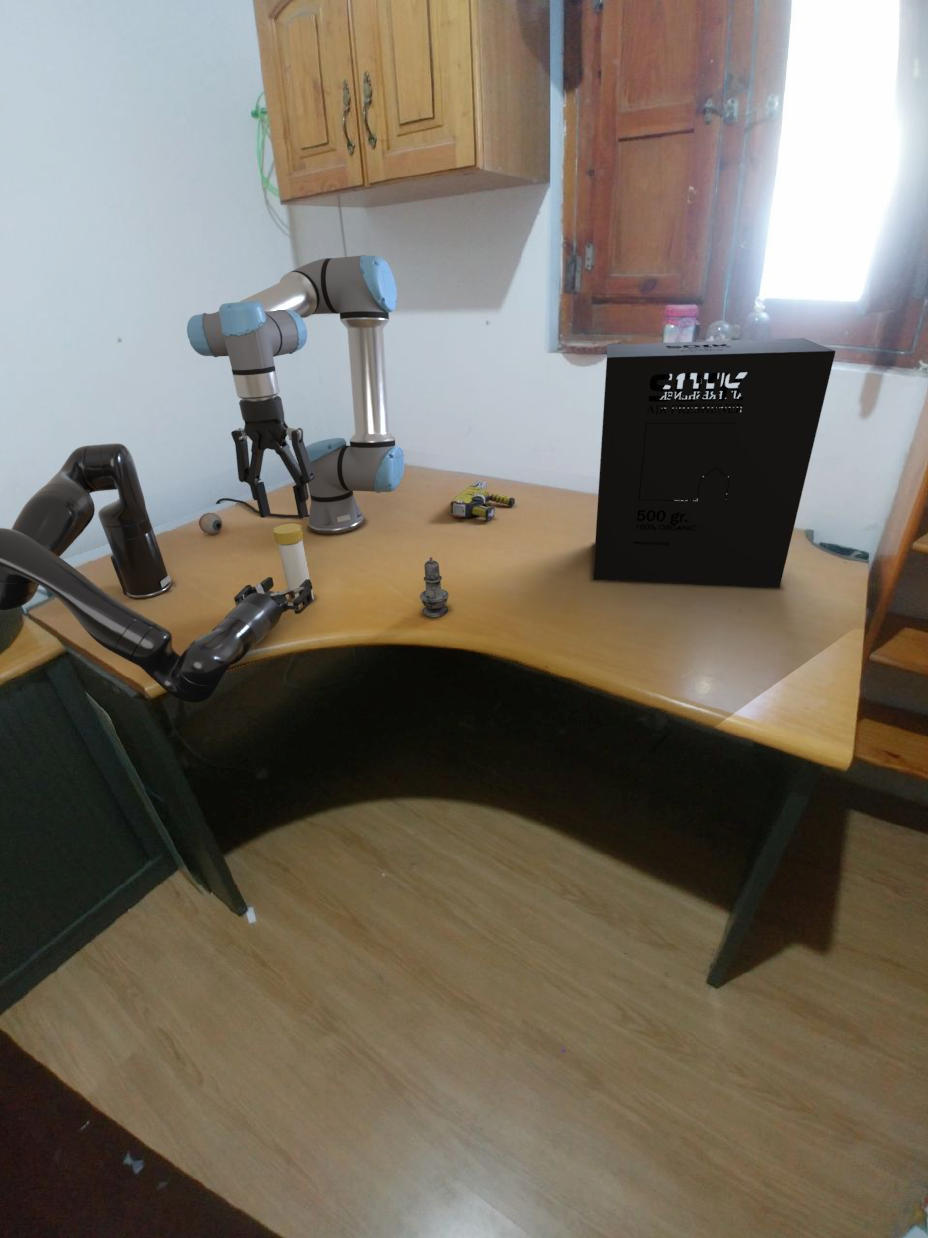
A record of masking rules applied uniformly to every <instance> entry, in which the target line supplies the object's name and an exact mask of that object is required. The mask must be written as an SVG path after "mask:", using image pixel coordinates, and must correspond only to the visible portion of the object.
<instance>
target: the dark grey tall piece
mask: <svg viewBox="0 0 928 1238" xmlns="http://www.w3.org/2000/svg"><path fill="white" fill-rule="evenodd" d="M423 567H424V577H423V581H424V582H425V590H424V591H422V592H421V593H420V594H419V599H420V600H421V603H422V605H423V606H424V608H422V614H423V615H424V616H426V617H429V618H438V617H442V616H444V615H446V614H448V612H449V607H448V606H447V605H446V603H447V602H448V598H449V595H450V594H449V592H448V591H447V590H445V589H443V588H442V582H441V581H442V579H443V577H442V575H441V574H440V564H439V562H438V561H437V560H434V559H433V557H432V556H430V557H429V559H428V561H426V562H425V563H424V566H423Z"/></svg>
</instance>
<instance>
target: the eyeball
mask: <svg viewBox="0 0 928 1238" xmlns="http://www.w3.org/2000/svg"><path fill="white" fill-rule="evenodd" d="M198 526H199V528H200V530H201V531H202V532H203V533H204V534H206V535H212V536H214V535H216V534H218V533H220V532H221V531H222V529H223V520H222V518H221V517H220V515H218V514H217V513H214V512H206V513H203V515H201V516H200V517H199V520H198Z"/></svg>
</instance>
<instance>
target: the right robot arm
mask: <svg viewBox="0 0 928 1238" xmlns="http://www.w3.org/2000/svg"><path fill="white" fill-rule="evenodd" d="M397 302H398V291H397V284H396V281H395V277H394V274H393V271H392V269H391V267H390V266H389V263H387V261H386V260H385V258H382V257H381V256H379V255H366V254H362V255H361V254H360V255H353V256H343V257H325V258H320V259H318V260H313V261H311V262H309V263H306V264H303V265H302V266H301V265H300V266H299V267H297V268H295V269H293V270H291V271H289V272H287V273H285V274H283V276H282V277H281V278H280V280H279V282H278V283H276V284H274V285H271V286H270V287H267V288H265V289H263V290H261V291H259V292H257V293H255V294H252V295H251V296H248V297H246V298H244V299H242V300H240V301H236V302H225V303H222V304H220V306H219V308H218V311H215V312H213V313H212V312H211V313H207V312H203V313H199V314H194V315H192V316H191V317H190V318H189V320H188V322H187V325H186V334H187V338H188V340H189V344H190V346H191V348H192V349H193V350H194V351H195V352H196V354H198V355H200V356H203V357H214V358H219V357H228V359H229V363H230V366H231V373H232V377H233V383H234V387H235V391H236V396H237V397H238V398H239V399H240V400H239V402H238V405H239V409H240V413H241V418H242V420H243V421H244V427H243V428H241V427H239V428H237V429H235V430H232V431H231V432H230V434H231V435H230V436H231V437H232V439H233V442H234V447H235V448H234V449H235V456H236V457H235V459H236V466H237V476H238V481H239V482H240V483H246V484H248V485H249V487H250V488H249V489H250V492H251V496H252V499H253V501H256V503H257V507H258V510H257V509H256V508H255V507H254V506H252V505H251V504H250V503H248V502H246V501H244V500H240V499H234V498H230V497H229V498H228V497H223V498H219V499H218V500H216V501H215V505H218V504H220V503H221V502H223V501H225V502H226V501H229V502H232V503H233V502H234V503H238V504H243V505H245V506H246V507H248V508H249V509H251V511H253V512H254V513H255V514H258V515H259V517H260V518H261V519H264V518H266V517H268V516H269V517H277V518H298V519H300V520H303V519H304V518H308V521H307V524H308V528H309V529H308V530H310V531H311V532H312V533H314V534H317V535H323V536H324V535H325V536H327V535H329V536H331V535H339V534H340V535H341V534H345V533H350V532H353V531H355V530H357V529H359V528H361V527H362V526H363V525H364V523H365V519H364V514H363V512H362V510H361V508H360V505H359V504H358V501H357V500H356V498H355V495H354V492H373V493H377V494H380V493H391V492H393V491H395V490H397V488H398V487H399V486H400V484H401V482H402V481H403V480H402V479H403V476H404V472H405V460H406V458H405V454H404V451H403V449H402V447H400V446H398V445H396V437H394V436H393V434H392V433H390V429H389V413H388V412H389V411H388V410H389V409H388V395H387V394H388V392H387V374H386V357H385V356H386V355H385V353H386V352H385V340H384V335H385V334H384V328H385V327H386V326H387V324H388V323H389V322H390V314H389V313H392V312H394V311H395V309H396V307H397ZM327 314H328V315H330V314H331V315H333V314H335V315H339V320H340V322H341V324H342V325H343V326H344V327H345V328H346V330H347V331H346V332H347V343H348V357H349V370H350V383H351V397H352V409H353V423H354V433H353V435H352V436H351V437H350V438H349V445H348V444H347V441H346V439H345V438H342V437H334V438H328V439H323V440H318V441H315V442H313V443H309V444H308V445H305V441H304V429H303V428H301V427H298V428H293V427H289V426H288V424H287V423H286V420H285V411H284V405H283V400H282V397H280V396H279V394H280V386H279V385H280V384H279V380H278V375H277V370H276V365H275V359H274V358H275V357H279V356H284V355H292V354H294V353H297V351H300V350H302V349H303V347H304V346H305V345H306V343H307V339H308V329H307V326H306V322H305V321H304V319H305V318H308V317H311V316H313V315H327ZM287 436H288V440H289V441H291V446H290V444H289V443H288V441H287V440H286V438H287ZM248 439H250V441H251V448H250V451H251V456H249V455H250V454H249V445H248V444H249V443H248ZM291 447H292V449H293V452H294V454H293V452H292V450H291ZM267 449H268V450H270V451H271V450H272V451H274V452H275V454H276V455H278V456H279V458H280V459H281V461H282V463H283V465H284V466H285V468H286V469H287V472H288V473H289V475H290V476H291V478H292V480H293V482H294V483H295V484H294V485H293V486H292V490H293V495H294V501H295V506H296V510H297V514H284V513H283V514H282V513H271V509H270V505H269V504H270V503H269V500H268V495H267V490H266V486H265V482H264V481H261V480H262V478H261V473H262V465H263V461H264V453H265V451H266V450H267ZM309 498H310V507H309V511H308V505H307V501H308V500H309Z"/></svg>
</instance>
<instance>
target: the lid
mask: <svg viewBox="0 0 928 1238" xmlns="http://www.w3.org/2000/svg"><path fill="white" fill-rule="evenodd" d="M272 533H273V537H274V542H275V543H276V544H277V545H278V544H281V545H289V544H294V543H297V542H299V541H301V540H302V541H303V539H304V532H303V528H302V525H301V524H299V523H284V524H280V525H278V526H276V527H275V528H273V532H272Z"/></svg>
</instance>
